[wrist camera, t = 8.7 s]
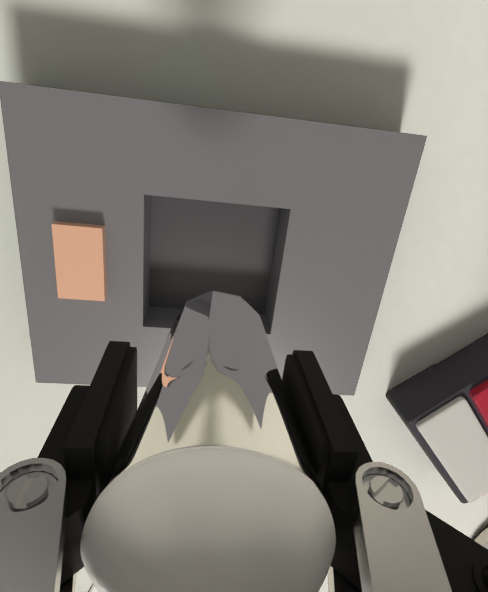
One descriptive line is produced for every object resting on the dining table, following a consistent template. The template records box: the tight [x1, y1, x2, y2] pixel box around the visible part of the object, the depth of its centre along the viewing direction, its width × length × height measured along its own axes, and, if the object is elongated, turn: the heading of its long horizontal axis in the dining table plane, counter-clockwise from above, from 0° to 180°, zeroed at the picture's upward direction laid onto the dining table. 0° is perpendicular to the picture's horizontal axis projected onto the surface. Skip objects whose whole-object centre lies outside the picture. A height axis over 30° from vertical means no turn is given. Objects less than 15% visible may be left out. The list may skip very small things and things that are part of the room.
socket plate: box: [0, 81, 427, 395], centre depth 22 cm, size 20×16×4 cm
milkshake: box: [80, 290, 336, 592], centre depth 10 cm, size 5×5×10 cm
